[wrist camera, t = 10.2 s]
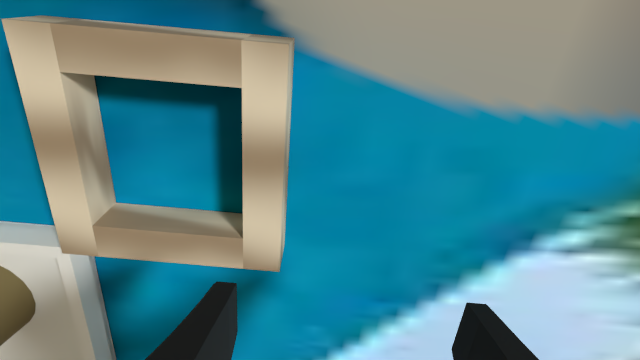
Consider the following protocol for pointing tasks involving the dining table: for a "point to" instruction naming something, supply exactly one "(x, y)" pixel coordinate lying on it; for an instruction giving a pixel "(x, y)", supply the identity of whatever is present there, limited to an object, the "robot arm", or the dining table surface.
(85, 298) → the tray
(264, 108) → the frame
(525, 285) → the dining table surface
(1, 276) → the olive tall rounded piece
